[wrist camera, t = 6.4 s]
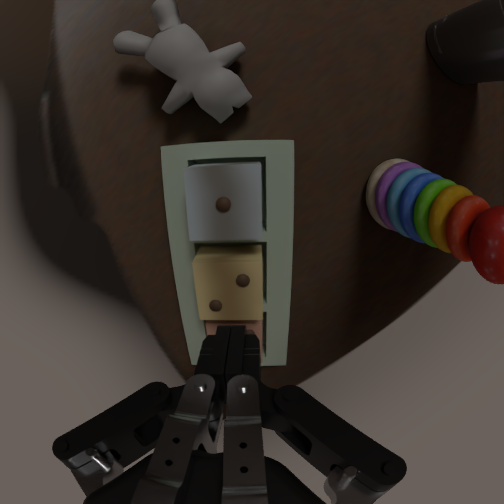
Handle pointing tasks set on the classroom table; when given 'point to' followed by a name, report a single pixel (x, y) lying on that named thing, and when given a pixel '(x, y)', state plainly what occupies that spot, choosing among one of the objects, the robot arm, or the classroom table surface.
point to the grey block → (224, 201)
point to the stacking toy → (438, 215)
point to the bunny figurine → (188, 64)
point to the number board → (273, 240)
